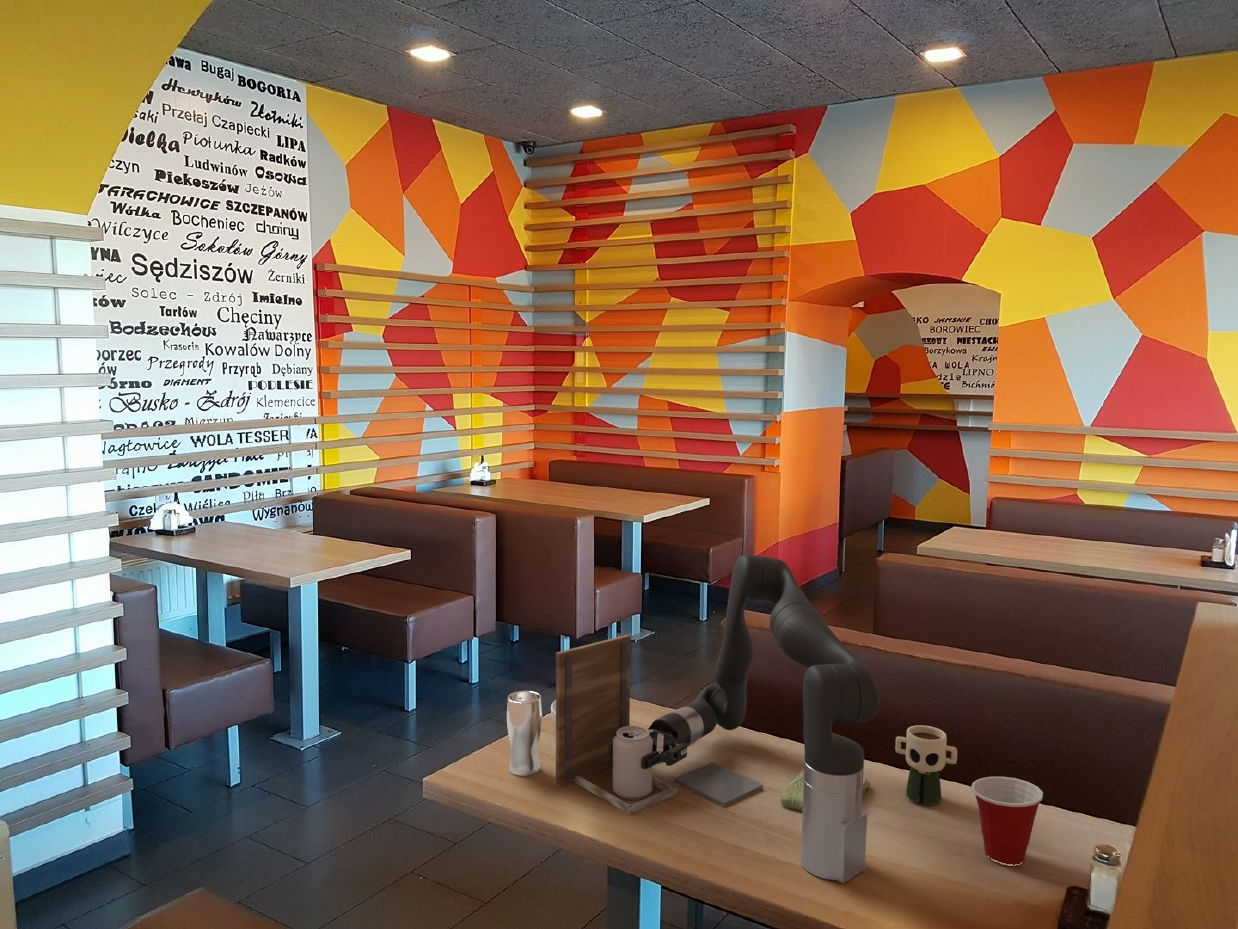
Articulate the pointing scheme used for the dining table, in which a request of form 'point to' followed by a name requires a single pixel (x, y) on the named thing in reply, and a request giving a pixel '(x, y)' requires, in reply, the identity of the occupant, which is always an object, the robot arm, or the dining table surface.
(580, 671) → the wooden stand
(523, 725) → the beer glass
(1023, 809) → the plastic cup
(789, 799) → the washcloth
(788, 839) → the dining table surface
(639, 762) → the can
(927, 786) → the character mug
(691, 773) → the slate board
